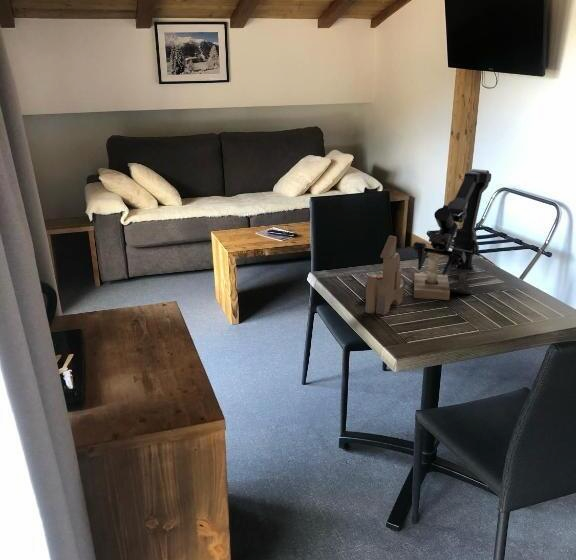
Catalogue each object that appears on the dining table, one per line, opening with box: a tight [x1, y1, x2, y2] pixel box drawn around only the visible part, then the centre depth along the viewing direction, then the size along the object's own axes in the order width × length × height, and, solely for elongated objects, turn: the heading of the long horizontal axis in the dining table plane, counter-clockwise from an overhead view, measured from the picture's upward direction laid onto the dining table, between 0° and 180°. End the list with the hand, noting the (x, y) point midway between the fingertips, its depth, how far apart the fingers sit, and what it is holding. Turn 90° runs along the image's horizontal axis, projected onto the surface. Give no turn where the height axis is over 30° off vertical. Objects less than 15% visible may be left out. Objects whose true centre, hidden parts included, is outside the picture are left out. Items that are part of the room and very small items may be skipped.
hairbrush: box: [449, 273, 473, 295], centre depth 212 cm, size 8×4×25 cm
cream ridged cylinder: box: [426, 255, 440, 285], centre depth 206 cm, size 4×4×12 cm
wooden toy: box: [365, 235, 404, 316], centre depth 189 cm, size 16×7×25 cm, turn 144°
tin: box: [364, 273, 406, 300], centre depth 201 cm, size 15×3×8 cm, turn 111°
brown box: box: [413, 272, 451, 301], centre depth 208 cm, size 18×12×3 cm, turn 168°
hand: (430, 272), depth 205 cm, fingers open, 9 cm apart
